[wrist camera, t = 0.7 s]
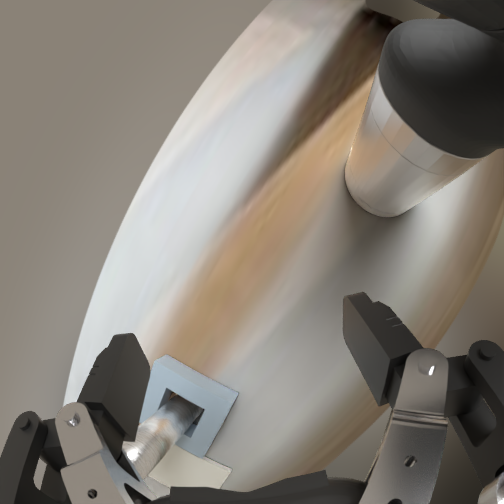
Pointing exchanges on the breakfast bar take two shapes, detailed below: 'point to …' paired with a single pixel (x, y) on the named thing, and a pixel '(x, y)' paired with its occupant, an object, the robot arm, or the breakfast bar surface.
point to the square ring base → (196, 391)
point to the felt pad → (189, 470)
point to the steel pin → (160, 433)
